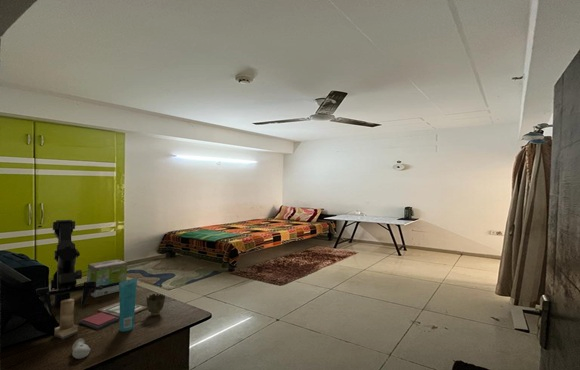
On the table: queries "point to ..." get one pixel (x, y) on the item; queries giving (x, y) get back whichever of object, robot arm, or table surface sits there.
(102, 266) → the tea box
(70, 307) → the stamp
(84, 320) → the ink pad
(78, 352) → the pale two-lobed sculpture
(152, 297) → the cup
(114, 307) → the wooden picture frame
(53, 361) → the table surface
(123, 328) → the tube
